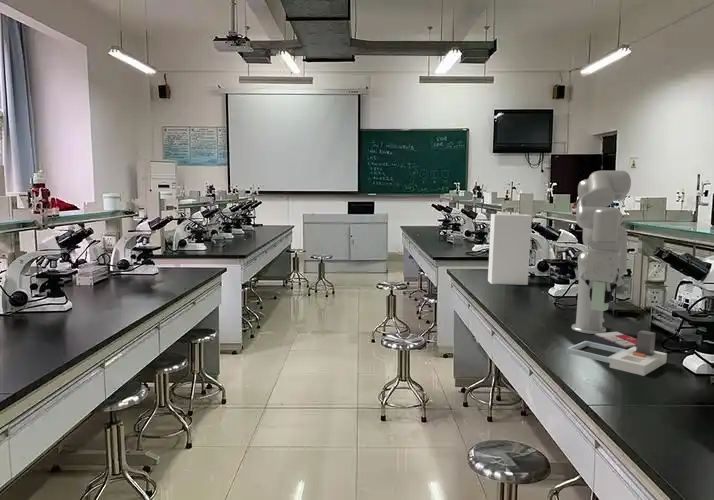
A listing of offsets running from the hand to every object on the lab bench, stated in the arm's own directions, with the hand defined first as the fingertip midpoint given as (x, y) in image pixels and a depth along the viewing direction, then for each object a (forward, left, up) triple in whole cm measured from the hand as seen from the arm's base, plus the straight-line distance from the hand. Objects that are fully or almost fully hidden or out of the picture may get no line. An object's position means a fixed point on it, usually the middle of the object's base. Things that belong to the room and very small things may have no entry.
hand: (600, 300), depth 184 cm
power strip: (+2, +14, -19) cm, 24 cm away
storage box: (-103, -97, -19) cm, 143 cm away
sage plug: (0, 0, -3) cm, 3 cm away
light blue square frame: (0, 0, -19) cm, 19 cm away
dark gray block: (-3, +14, -18) cm, 23 cm away
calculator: (-17, +1, -19) cm, 26 cm away
